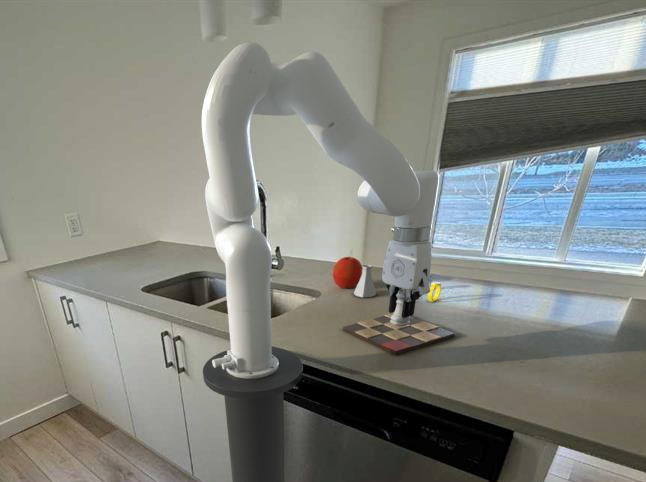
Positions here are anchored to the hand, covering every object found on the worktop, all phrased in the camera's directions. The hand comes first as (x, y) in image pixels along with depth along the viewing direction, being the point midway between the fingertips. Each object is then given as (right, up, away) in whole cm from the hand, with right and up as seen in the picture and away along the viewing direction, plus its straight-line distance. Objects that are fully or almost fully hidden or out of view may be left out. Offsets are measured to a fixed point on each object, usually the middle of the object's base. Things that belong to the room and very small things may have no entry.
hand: (400, 313), depth 97 cm
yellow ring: (+25, +10, +33) cm, 42 cm away
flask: (+7, +14, +44) cm, 46 cm away
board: (+5, -3, +13) cm, 14 cm away
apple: (+3, +19, +53) cm, 56 cm away
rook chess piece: (0, -2, +1) cm, 3 cm away
